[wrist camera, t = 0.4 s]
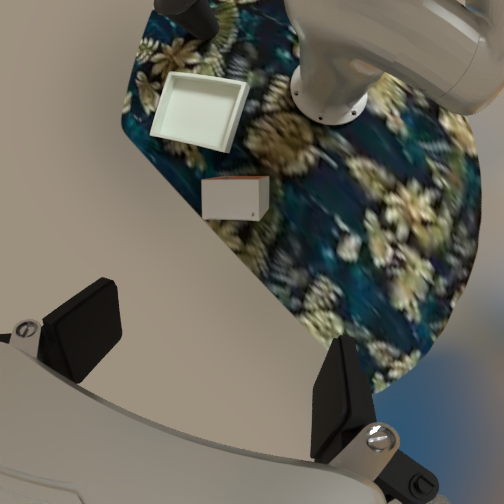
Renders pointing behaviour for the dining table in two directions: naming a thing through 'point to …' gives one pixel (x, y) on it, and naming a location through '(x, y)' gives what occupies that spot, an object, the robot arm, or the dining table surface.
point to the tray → (200, 110)
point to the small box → (235, 197)
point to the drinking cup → (190, 16)
